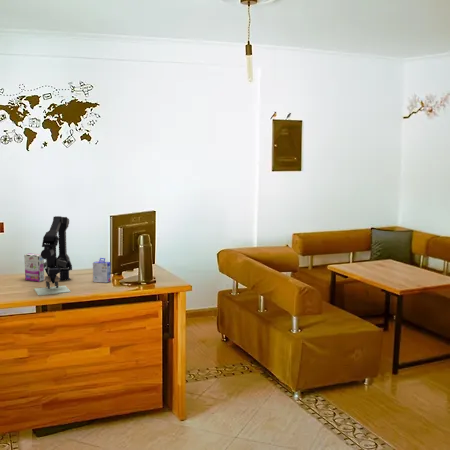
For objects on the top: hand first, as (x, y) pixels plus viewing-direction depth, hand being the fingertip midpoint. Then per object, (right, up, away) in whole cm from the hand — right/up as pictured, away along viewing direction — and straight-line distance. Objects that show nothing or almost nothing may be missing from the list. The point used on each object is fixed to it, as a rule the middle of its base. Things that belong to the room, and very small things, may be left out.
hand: (52, 282), depth 341 cm
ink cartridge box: (+24, -2, +24) cm, 34 cm away
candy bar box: (-18, -2, +24) cm, 30 cm away
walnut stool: (0, -3, 0) cm, 3 cm away
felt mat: (0, -5, +1) cm, 5 cm away
